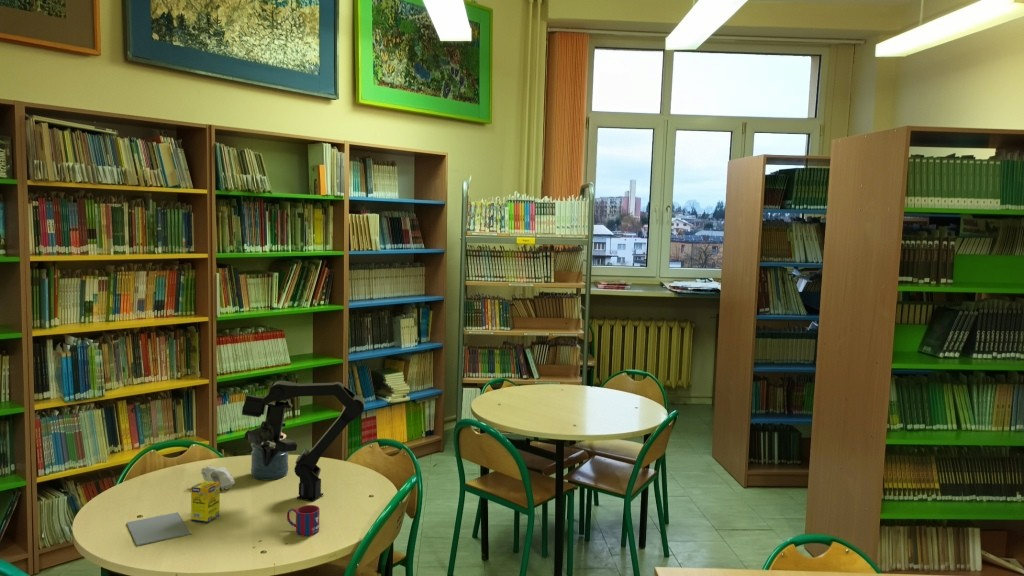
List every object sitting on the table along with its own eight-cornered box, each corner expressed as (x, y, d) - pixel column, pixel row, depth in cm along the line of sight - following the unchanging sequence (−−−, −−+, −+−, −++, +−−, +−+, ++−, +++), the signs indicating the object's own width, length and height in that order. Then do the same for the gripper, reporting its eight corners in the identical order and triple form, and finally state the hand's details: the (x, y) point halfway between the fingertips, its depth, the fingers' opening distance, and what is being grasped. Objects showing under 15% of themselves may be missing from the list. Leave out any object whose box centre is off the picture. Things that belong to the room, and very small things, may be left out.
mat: (177, 513, 211) (177, 512, 211) (191, 534, 197) (191, 533, 197) (126, 523, 202) (126, 522, 202) (136, 546, 188) (136, 544, 188)
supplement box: (207, 524, 204) (208, 488, 203) (190, 521, 205) (190, 486, 204) (220, 516, 210) (220, 482, 209) (203, 514, 211) (203, 480, 210)
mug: (310, 538, 197) (310, 515, 196) (281, 532, 200) (281, 509, 200) (323, 529, 203) (324, 507, 203) (295, 523, 206) (296, 501, 206)
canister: (279, 466, 257) (279, 420, 256) (294, 475, 247) (295, 428, 246) (245, 473, 248) (245, 426, 247) (259, 483, 238) (259, 434, 237)
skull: (226, 486, 227) (204, 459, 229) (213, 502, 230) (192, 475, 232) (243, 477, 235) (222, 451, 237) (230, 492, 238) (209, 467, 240)
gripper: (235, 414, 221) (226, 461, 220) (276, 427, 212) (267, 477, 211) (261, 412, 230) (253, 457, 230) (302, 425, 222) (293, 472, 221)
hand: (266, 466), depth 223 cm, fingers closed
